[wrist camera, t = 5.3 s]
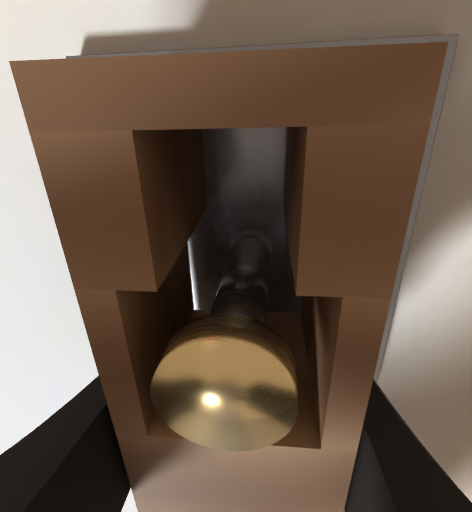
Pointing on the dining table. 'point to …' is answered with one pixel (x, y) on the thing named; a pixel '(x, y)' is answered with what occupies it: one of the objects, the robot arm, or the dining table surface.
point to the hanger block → (191, 212)
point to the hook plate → (249, 284)
